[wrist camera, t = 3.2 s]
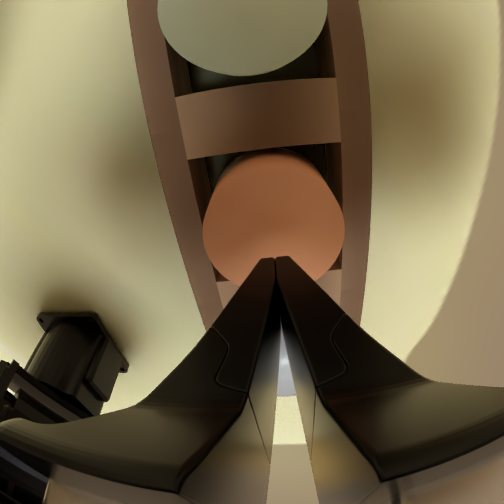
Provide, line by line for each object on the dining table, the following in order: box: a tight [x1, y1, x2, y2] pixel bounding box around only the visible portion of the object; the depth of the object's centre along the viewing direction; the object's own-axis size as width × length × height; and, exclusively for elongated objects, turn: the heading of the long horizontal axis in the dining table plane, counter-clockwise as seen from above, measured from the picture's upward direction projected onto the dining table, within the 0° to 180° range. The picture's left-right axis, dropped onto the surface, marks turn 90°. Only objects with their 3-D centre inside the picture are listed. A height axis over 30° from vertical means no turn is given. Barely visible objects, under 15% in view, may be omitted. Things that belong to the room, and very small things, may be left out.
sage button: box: [157, 0, 327, 77], centre depth 8 cm, size 5×5×3 cm
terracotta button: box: [202, 148, 345, 286], centre depth 12 cm, size 5×5×3 cm
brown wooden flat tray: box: [127, 0, 372, 332], centre depth 13 cm, size 8×24×3 cm, turn 8°
